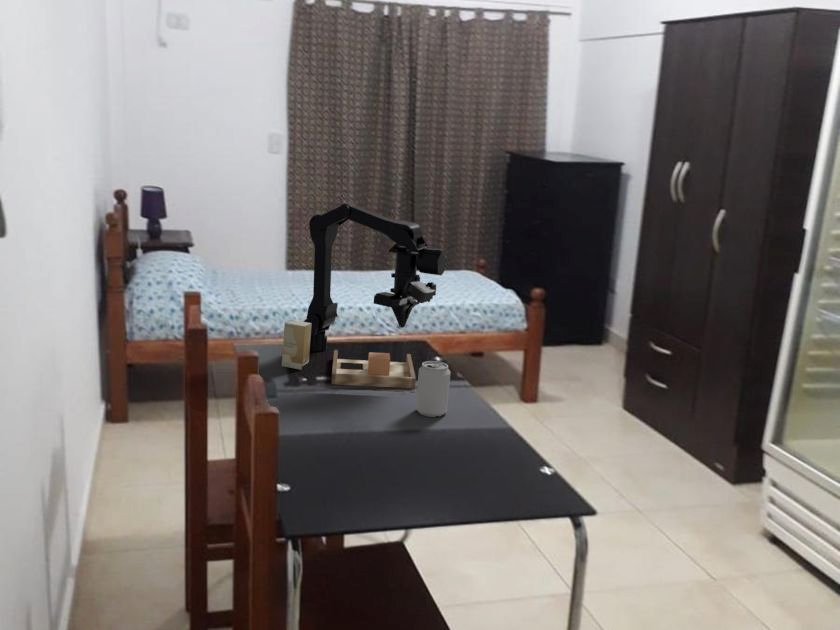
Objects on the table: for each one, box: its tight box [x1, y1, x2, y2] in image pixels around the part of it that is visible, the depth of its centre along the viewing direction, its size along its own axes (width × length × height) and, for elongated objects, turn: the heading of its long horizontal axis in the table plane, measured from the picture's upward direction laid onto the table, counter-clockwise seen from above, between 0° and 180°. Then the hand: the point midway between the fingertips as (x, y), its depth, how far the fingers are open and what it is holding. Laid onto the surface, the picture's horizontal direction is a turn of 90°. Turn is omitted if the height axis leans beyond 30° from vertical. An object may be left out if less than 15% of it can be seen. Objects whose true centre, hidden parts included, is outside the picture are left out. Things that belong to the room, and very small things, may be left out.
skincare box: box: [281, 319, 312, 371], centre depth 228 cm, size 6×4×12 cm
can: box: [415, 360, 451, 418], centre depth 201 cm, size 8×8×12 cm
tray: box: [330, 349, 417, 393], centre depth 225 cm, size 21×22×4 cm
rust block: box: [367, 351, 391, 376], centre depth 226 cm, size 6×6×4 cm
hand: (402, 327), depth 231 cm, fingers closed
